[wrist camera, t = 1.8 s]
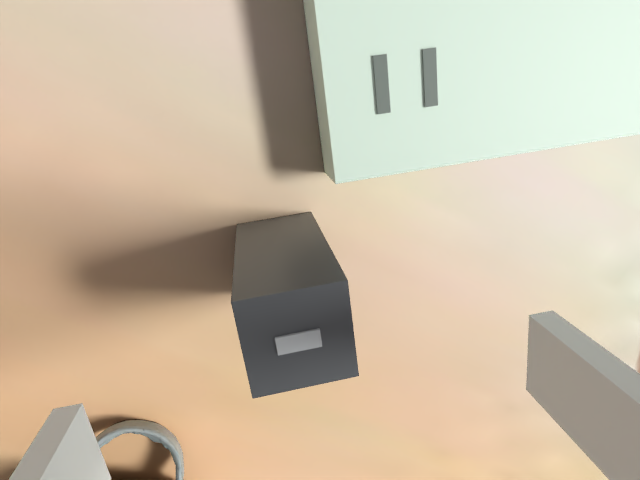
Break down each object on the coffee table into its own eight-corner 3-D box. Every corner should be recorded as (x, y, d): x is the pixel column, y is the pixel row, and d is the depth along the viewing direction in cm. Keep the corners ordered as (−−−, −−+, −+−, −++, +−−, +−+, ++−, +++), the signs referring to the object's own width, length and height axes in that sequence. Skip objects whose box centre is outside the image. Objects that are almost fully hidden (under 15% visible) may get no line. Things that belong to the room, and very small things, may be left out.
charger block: (250, 292, 24) (252, 400, 16) (236, 224, 23) (231, 303, 14) (320, 278, 25) (359, 377, 16) (311, 211, 23) (348, 281, 15)
